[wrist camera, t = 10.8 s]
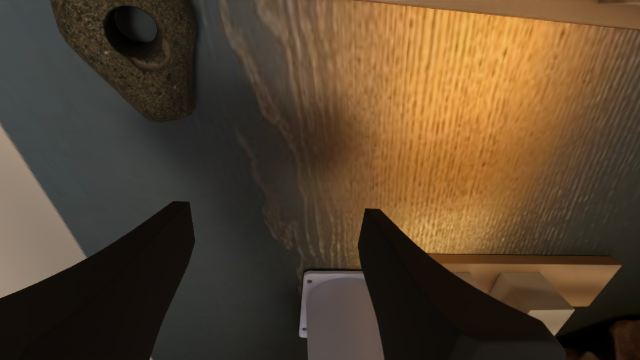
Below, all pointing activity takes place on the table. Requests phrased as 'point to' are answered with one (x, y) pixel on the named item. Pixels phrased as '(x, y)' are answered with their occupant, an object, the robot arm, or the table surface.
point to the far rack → (535, 281)
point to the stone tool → (136, 52)
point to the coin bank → (611, 344)
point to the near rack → (543, 10)
